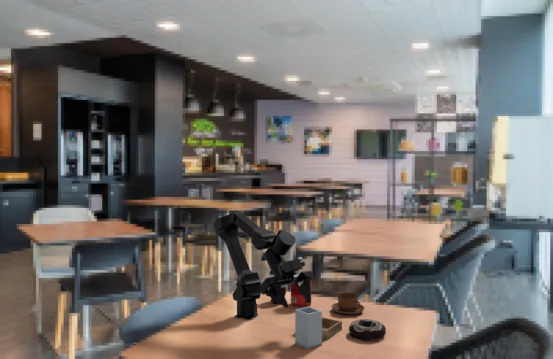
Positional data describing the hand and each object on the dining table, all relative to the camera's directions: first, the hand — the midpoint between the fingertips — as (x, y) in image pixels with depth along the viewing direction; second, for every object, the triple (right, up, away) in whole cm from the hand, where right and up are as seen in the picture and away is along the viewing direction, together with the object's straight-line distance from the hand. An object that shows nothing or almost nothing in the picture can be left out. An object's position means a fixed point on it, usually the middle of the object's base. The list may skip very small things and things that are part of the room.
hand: (299, 304), depth 154 cm
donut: (+22, -11, +5) cm, 26 cm away
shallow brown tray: (+7, -11, +8) cm, 15 cm away
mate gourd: (-7, -10, +41) cm, 43 cm away
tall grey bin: (+3, -11, -3) cm, 12 cm away
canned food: (+2, -10, +38) cm, 39 cm away
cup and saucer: (+20, -10, +30) cm, 37 cm away
